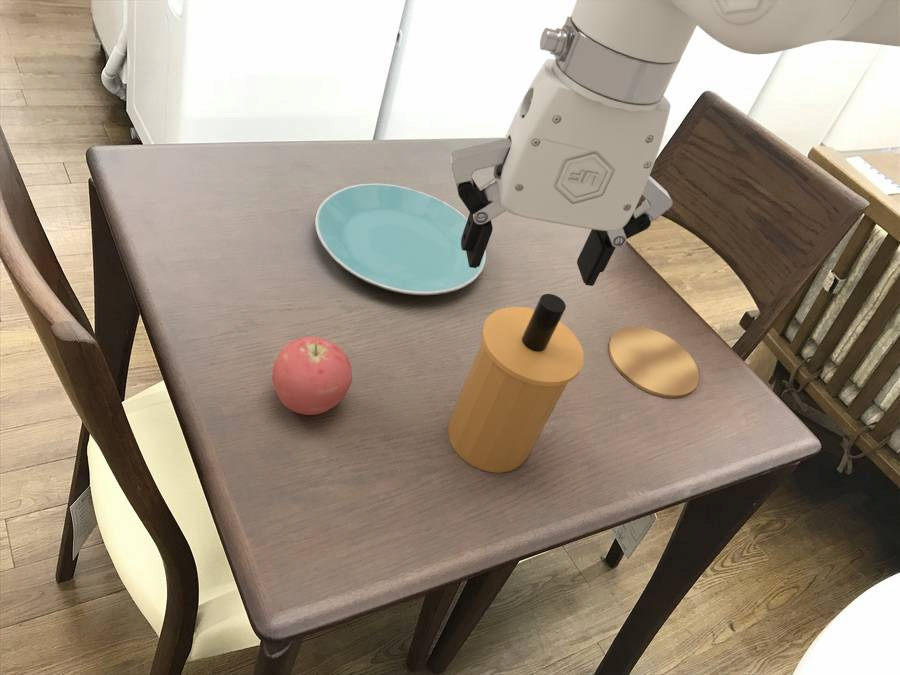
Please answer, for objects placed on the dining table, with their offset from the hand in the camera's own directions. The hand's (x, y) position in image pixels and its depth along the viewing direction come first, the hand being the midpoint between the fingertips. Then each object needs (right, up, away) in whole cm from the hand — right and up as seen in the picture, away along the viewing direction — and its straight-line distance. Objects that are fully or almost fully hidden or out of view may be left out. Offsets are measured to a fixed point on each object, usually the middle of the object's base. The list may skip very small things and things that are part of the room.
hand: (528, 266), depth 61 cm
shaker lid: (+1, -7, +10) cm, 12 cm away
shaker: (-2, -16, +19) cm, 25 cm away
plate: (-13, +5, +38) cm, 40 cm away
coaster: (+19, -9, +35) cm, 41 cm away
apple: (-21, -12, +16) cm, 29 cm away
